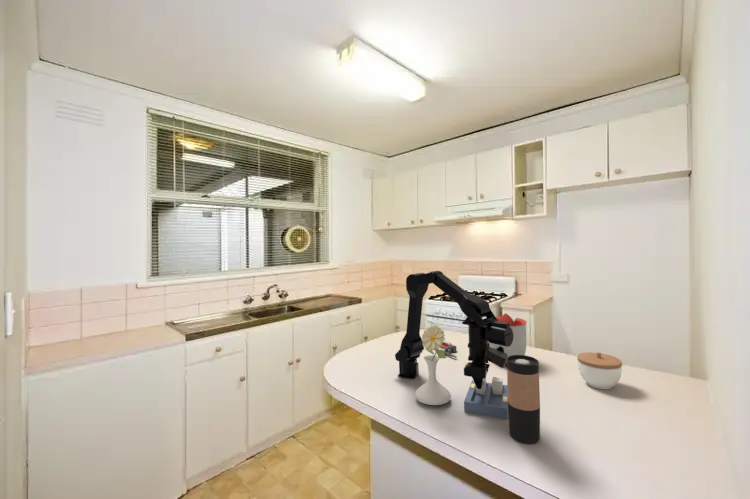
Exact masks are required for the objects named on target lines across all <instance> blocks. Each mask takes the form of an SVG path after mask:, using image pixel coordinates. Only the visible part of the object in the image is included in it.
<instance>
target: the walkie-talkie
mask: <svg viewBox="0 0 750 499" xmlns="http://www.w3.org/2000/svg"><path fill="white" fill-rule="evenodd" d="M434 350H435V352H436V351H437V350H436V349H434ZM438 350H443V351H444V353H445V355H446V356H448V357H450V358H451V357H453V358H455V359H457V358H458V356H456V355H455V354H453V353H457V346H456V345H454V344H453V343H452V342H449V341H447V340H444V342H443V344H442V345H441V347H440V348H439V349H438Z"/></svg>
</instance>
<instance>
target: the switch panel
mask: <svg viewBox="0 0 750 499" xmlns="http://www.w3.org/2000/svg"><path fill="white" fill-rule="evenodd" d="M463 400H464V401H463V412H466V413H471V414H476V415H481V416H486V417H487V416H488V417H491V418H492V417H493V418H499V419H505V420H508V419H509V415H508V392H507V384H503V395H496V394H492V382H487V381H486V393H485V395H483V394H476V388H475V382H474V380H473V379H472V381H471V383H470V385H469V388H468V390H467V392H466V396H465V398H464V399H463Z"/></svg>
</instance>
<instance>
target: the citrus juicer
mask: <svg viewBox="0 0 750 499" xmlns="http://www.w3.org/2000/svg"><path fill="white" fill-rule="evenodd" d="M495 317H496V318H497V321H496V322H503V323H504V322H506V323H509V324H510V328H511V329H512V331H513V333H514V337H513V342H512V344H511V346H509V347H507V346H502V345H497V344H493V343H490V347H491V348H495V349H496V348H497V347H498V346H502V347H504V352H505V353H507V355H508V357H509V356H512V355H525V356H526V353H527V352H526V350H527V324H528V322H527V320H526V319H522V318H520V317H516V318H515V319H513V318H512V317H511V316H510V315H509V314H508V313H506V312H505V313H503V314H502V315H501V316H495ZM508 357H507V358H508ZM504 366H507V360H506V363H505V365H504Z"/></svg>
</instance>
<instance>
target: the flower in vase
mask: <svg viewBox="0 0 750 499" xmlns="http://www.w3.org/2000/svg"><path fill="white" fill-rule="evenodd" d="M421 339H422V342H423V343H422V345H423V346H424V350H426V351H427V353H430V355H429V354H428V355H426V356H424V357H423V360H424V361H425V363H426V365H427V369H428V379H427V381H425V382H424V383H423V384H422V385H420V386H419V387H418V388H417V389H416V391H415V394H414V395H415V399H416V400H417V401H418V402H420V403H422V404H424V405H429V406H442V405H445V404H447V403H449V401H450V400H451V398H452V395H451V392H450V391H449V390H448V389H447V388H446V387H445V386H444V385H443V384H441V383H440V382H439V381H438V379H437V374H436V373H437V372H436V371H437V364H438V362H439V360H440V359H447V355H445V353H444V351H443V350H438V349H439V348H440V347H441V345H442V344H443V342H444V341H446V338H445V331H444V330H443V329H442V328H441V327H439V326H438V325H430V326H429V327H426V329H425V330H423V333H422V334H421ZM435 349H436V350H437V351H436V350H435ZM434 350H435V353H434ZM431 354H432V355H431Z"/></svg>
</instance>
